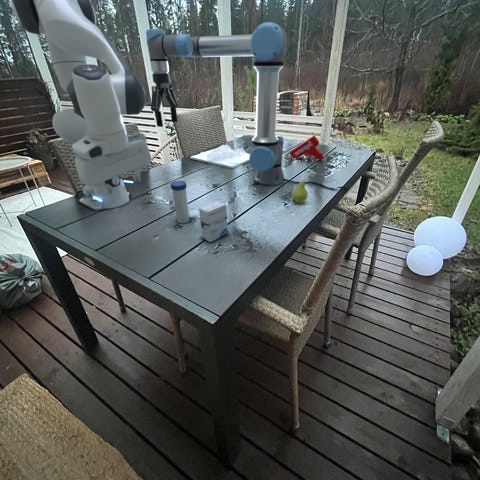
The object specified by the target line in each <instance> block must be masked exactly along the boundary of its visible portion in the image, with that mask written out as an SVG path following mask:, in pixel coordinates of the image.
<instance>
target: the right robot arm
mask: <svg viewBox="0 0 480 480" xmlns="http://www.w3.org/2000/svg"><path fill="white" fill-rule="evenodd" d="M145 36H146V46H147V50H148V55H149V63H150V69H151V72H152V74H151V76H152V83H153V84H155V85H152V86H151V102H150V110H151V111H152V112H154V117H155V121H156V127H158V128H163V127H164V123H163V116H162V111H161V106H162V102H163V99H164V98H166V100H167V102H168V103H169V106H170V109H169V110H170V116H171V117H170V118H171V122H172V123H173V122H174V123H178V122H179V121H178V114H177V108H178V107H179V102H178V99H177V97H176V94H175V91H174V87H173V84H170V83H171V75H170V73H169V72H170V68H169V60H168V57H175V58H176V57H177V58H178V57H179V58H180V57H182V58H211V57H212V58H218V57H219V58H220V57H221V58H222V57H224V58H225V57H226V58H227V57H229V58H230V57H253V68H254V69H255V71H256V107H255V108H256V110H255V135H254V136H253V137H252V139H251V151H250V153H249V154H250V156H249V160H250V161H249V163H250V166H251V167H252V168H253V169H254V170H256V174H255V178H254V181H255V183H258V184H259V185H262V186H263V185H264V186H279V185H281V184H283V183H284V181H285V182H289V183H293V184H297V185H298V184H299V183H300V182H301V181H295V180H291V179H286V178H285V175H284V172H283V171H284V170H283V167H282V165H283V154H284V153H283V152H284V137H283V135H280V134H279V135H278V134H276V129H277V128H276V127H277V113H278V112H277V111H278V95H279V80H280V79H279V77H280V71H281V70H282V69H283V68H284V61H285V60H284V59H285V56H286V54H287V52H288V49H289V47H290V46H289V45H290V39H289V35H288V33H287V31H286V30H285V29H284V28H283V27H281V26H280V25H278V24H277V23H276V22H271V21H268V22H267V21H266V22H262V23H261V24H259V25H258V26H257V27H256V28H255V29H254V30H253V32H252V34H231V35H230V34H228V35H208V36H190V35H189V34H188V33H178V34H165V30H164V29H162V28H147V29H146V31H145ZM319 183H320V182H317V183H316V181H305V184H314V185H318V186H321V187H322V188H325V189H327V190H332V191H335V190H337V189H334V188H335V187H330V186H327V185H324V184H323V183H320V184H319ZM326 186H327V187H326ZM329 187H330V188H329ZM336 188H340V189H345V190H346V191H350V189H349V188H348V187H346V186H338V187H336ZM340 189H339V190H340Z"/></svg>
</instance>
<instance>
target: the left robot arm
mask: <svg viewBox="0 0 480 480" xmlns="http://www.w3.org/2000/svg"><path fill="white" fill-rule="evenodd" d="M10 7H11V10H12V13H13V15H14V18H15V19H16V20H17V22H18V23H19V24H20V25H21V26H22V29H24V30H25V31H27V33H30V34H32V35H33V34H34V35H45V39H46V44H47V49H48V52H49V56H50V59H51V62H52V64H53V68H54V70H55V74H56V77H57V79H58V82H59V85H60V87H61V88H62V90H63V91H64V92H65V93H67V94H68V96H69V98H70V101H71V104H72V107H73V108H66V109H63V110H60V111H57V112H55V113H54V114H53V117H52V120H51V121H52V127H53V130H54V132H55V133H56V135H58V137H59V138H60V139H62V140H63V141H66V142H68V143H70V144H72V145H71V149H72V151H73V153H74V154H75V155H76V156H75V157H74V166H75V169H76V172H77V175H78V179H79V180H80V182H81V183H83V184H84V185H85V186H84V187H82V189H80V190H78V191H77V192H76V194H74V196H75V197H78V196H79V194H80V195H81V196H83V197H81V198H79V201H78V202H79V203H80V204H82V205H84V206H86V207H88V208H90V209H92V210H94V211H101V210H109V209H114V208H115V209H116V208H120V207H122V206H124V205H126V204H128V202H130V193H129V192H128V191H127V188H126V185H125V183H129V184H134V182H135V183H138V182H140V181H142V178H141V175H142V171H143V168H142V167H144V166H146V165H149V164H150V163H151V162H152V155H151V152H150V149H149V146H148V144H147V137H146V135H145V133H143V132H140V131H135V132H133V133H129V134H128V133H127V130H126V125H125V123H124V119H123V116H125V115H126V116H133V115H134V116H135V115H139V114H140V113H141V112H142V111H143V110H144V108H145V107H146V105H147V96H146V91H145V89H144V86H143V84H142V82H141V79H139V78H138V76H137V75H135V73H134V72H133V71H132V69H130V67H129V65H128V64H127V62H126V61H125V59H124V57H122V55H121V53H120V52H119V50H118V49H117V47H116V46H115V44H114V43H113V41H112V39H111V38H110V37H109V36H108V34H107V33H106V31H105V30H104V29H102V28H101V27H99V26H98V25H97V14H96V10H95V8H94V6H93V4H92V2H91V0H10ZM87 57H89V58H93V59H96V60H99V61H100V62H103V64H105V65H106V67H107V68H105V67H103V66H101V65H96V64H89V62H88V59H87ZM107 69H108V70H109V71H110V73H111V74H110V73H109V71H108V70H107ZM131 171H134V174H132V175H131V177H132V180H133V181H132V180H125V179H124V180H123V179H122V176H121V175H123V174H126V173H129V172H131Z"/></svg>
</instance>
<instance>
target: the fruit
mask: <svg viewBox="0 0 480 480" xmlns="http://www.w3.org/2000/svg"><path fill="white" fill-rule="evenodd" d="M310 177H311V175H310V174H309V175H308V176H307V177H305V179H302V180H301V181H299V182H300V183H299V184H298V183H297V185H296V186H295V187H294V188H293V190H292V191H291V198H292V200H293V201H294V202H295V203H297V204H301V203H304V202H305V201H306V200H307V198H308V196H309V195H308V190H307V189H306V183H305V182H306V180H308V179H309V178H310Z"/></svg>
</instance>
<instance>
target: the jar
mask: <svg viewBox="0 0 480 480" xmlns="http://www.w3.org/2000/svg"><path fill="white" fill-rule="evenodd" d="M171 191H172V196H173V197H172V198H173V203H174V205H173V206H174V211H175V217H176V222H177V223H179V224H186V223H189V222H190V220H191V219H190V211H189V203H188V196H187V195H188V194H187V187H186V188H185V189H183V190H172V189H171Z"/></svg>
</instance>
